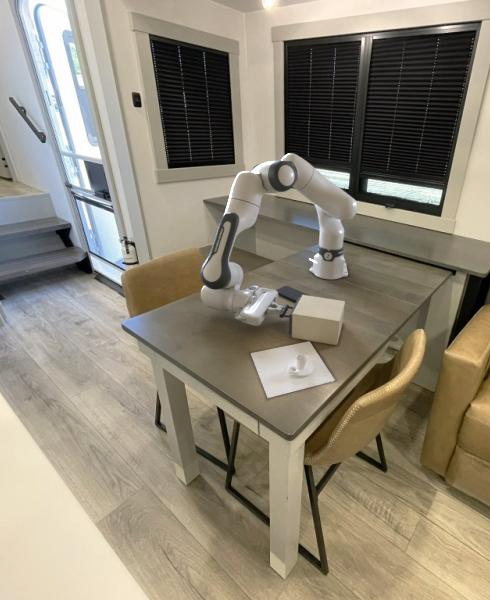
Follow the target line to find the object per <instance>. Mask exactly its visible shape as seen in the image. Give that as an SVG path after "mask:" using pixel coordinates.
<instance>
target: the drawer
mask: <svg viewBox="0 0 490 600" xmlns="http://www.w3.org/2000/svg"><path fill="white" fill-rule="evenodd" d="M300 299H301V297H299V298H298V300H297V301H296V302H295V304H294V305H293V306H290V305H289V304H287V303H286V304H285V305H283V307H284V308H283V310H282V311H281V313H280V314H278V317H279V318H280V319H284V318H288V334H289V335H292V314H293V312H294V310H295V308H296V306H297V304H298V302H299V300H300ZM289 309H291V310H290V312H289V314H286V313H287V312H288V310H289Z"/></svg>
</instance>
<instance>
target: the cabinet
mask: <svg viewBox="0 0 490 600" xmlns="http://www.w3.org/2000/svg"><path fill="white" fill-rule="evenodd" d="M345 306H346V301H345V300H338V299H332V298H325V297H319V296H313V295H310V296H307V295H302V297H301V299H300V300H299V302H298V304H297V306H296V308H295V310H294V312H293V314H292V334H291V338H292V339H298V340H303V341H310V342H314V343H321V344H327V345H333V346H338V342H339V338H340V335H341V331H342V327H343V322H344V315H345Z"/></svg>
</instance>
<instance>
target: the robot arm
mask: <svg viewBox="0 0 490 600" xmlns="http://www.w3.org/2000/svg"><path fill="white" fill-rule="evenodd" d="M292 188H293V189H295V190H296V191H297V192H298V193H299V194H300V195H302V196H304V197H305V198H306V199H307V200H309V201H310V202H312V203H313V205H314V207H315V209H316V213H317V219H318V225H319V236H318V237H319V238H318V244H317V253H316V254H315V255H314V256H313V259H312V258H309V259H308V260H309V261H311V262H313V265H312V266H311V267H310V268H309V272H310V273H312V274H314V276H316V277H318V278H320V279H324V280H338V279H341V278H347V277H348V276H349V272H348V267H347V263H346V258H345V257H344V251H345V250H344V240H345V239H344V238H345V229H344V226H343V224H342V221H351V220H352V219H353V218H355V217H356V215H357V213H358V209H359V208H358V206H359V205H358V202H357V200H356V199H355V198H354V197H352V196H351V195H350V194H348V193H347V192H346V191H345V190H344V189H342V188H340V187H339V186H338V185H336V183H334V182H332V181H331V180H330V179H328V178H327V177H325V176H324V175H323V174H322V173H321V172H320V171H319V170H318V169H316V168H315V167H314V166H313V165H312V164H311V163H310V162H308V161H307V160H305V159H304V158H302V157H301V156H299V155H298V154H296V153H293V152H289V153H287V154H285V155H284V156H282V157H281V159H277V160H270V161H265V162H263V163H259V164H256V165H255V166H253V167H251V169H250V170H243V171H240V172H238V174H237V175H236V176H235V178H234V181H233V183H232V186H231V189H230V191H229V192H230V193H229V196H228V200H227V204H226V207H225V211H224V213H223V216H222V218H221V219H220V222H219V224H218V228H217V230H216V233H215V236H214V239H213V242H212V245H211V249H210V251H209V255H208V257H207V258H206V259H205V261H204V262H203V264H202V265H201V268H200V280H201V282H202V283H203V284H204V285H203V286H202V288H201V290H200V300H201V302H202V304H203V305H204V306H205V307H207V308H210V309H212V310H216V311H219V312H230V313H232V314H234V318H235V319H236V320H237V321H240V322H242V323H244V324H247V325H250V326H254V327H258V326H260V325H261V324H262V323H263V322H264V320H265V319H266V317H267V316H268V315H275V314H277V315H280V313H281V311H282V310H283V308H284V305H279V303H277V301H278V300H279V294H278V292H277V291H276V290H277V289H271V288H267V287H259V286H258V285H252V286H250V287H248V288H244V289H241V288H242V284H243V281H244V278H245V277H244V276H245V272H244V270H243V268H242V267H241V265H240V264H239V263H236V262H233V261H230V258H231V254H232V251H233V248H234V244H235V241H236V239H237V237H238V235H240V234H241V233H242V232H243V231H245V230H246V231H247V230H248V229H250V228H252V227H253V226H254V225H255V224H256V221H257V220H258V217H259V216H258V215H259V212H260V208H261V204H262V199H263V197H264V195H265V194H268V195H269V194H271V195H272V194H273V195H274V194H277V193H285V192H287V191H289V190H291V189H292Z"/></svg>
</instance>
